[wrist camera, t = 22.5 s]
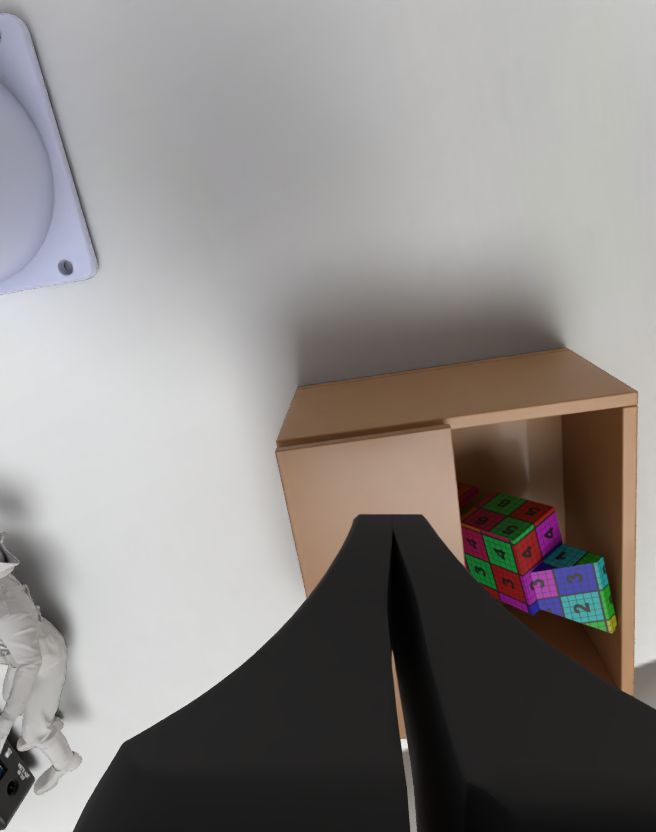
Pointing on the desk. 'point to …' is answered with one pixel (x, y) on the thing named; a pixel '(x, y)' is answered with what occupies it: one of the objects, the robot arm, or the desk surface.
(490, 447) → the carton
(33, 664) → the soldier figure
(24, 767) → the multiport hub
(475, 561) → the block
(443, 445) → the flap
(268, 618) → the desk surface
